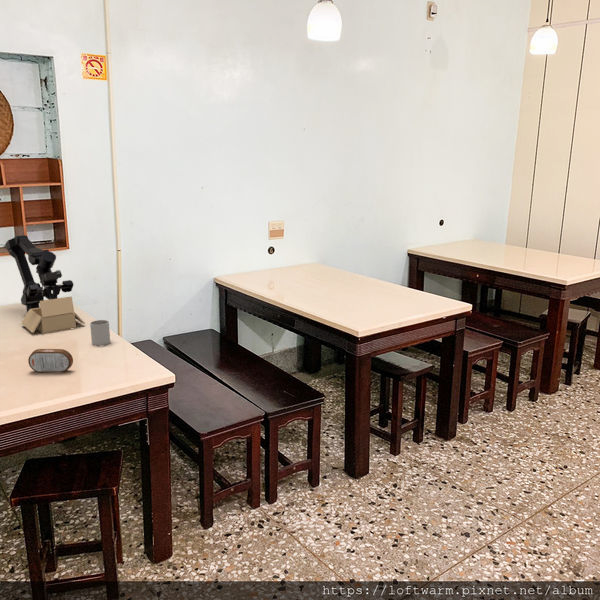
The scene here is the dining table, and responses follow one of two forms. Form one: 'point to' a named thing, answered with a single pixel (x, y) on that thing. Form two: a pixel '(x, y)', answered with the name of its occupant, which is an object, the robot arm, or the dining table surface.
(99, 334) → the cup
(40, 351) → the tin
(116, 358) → the dining table surface
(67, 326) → the carton
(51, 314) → the flap
